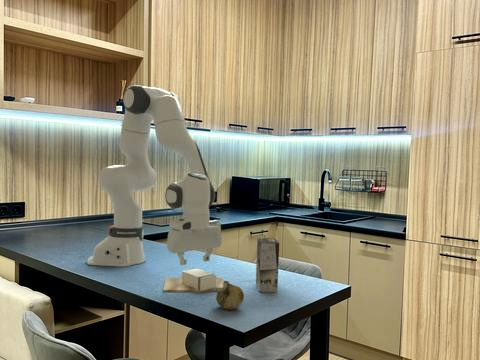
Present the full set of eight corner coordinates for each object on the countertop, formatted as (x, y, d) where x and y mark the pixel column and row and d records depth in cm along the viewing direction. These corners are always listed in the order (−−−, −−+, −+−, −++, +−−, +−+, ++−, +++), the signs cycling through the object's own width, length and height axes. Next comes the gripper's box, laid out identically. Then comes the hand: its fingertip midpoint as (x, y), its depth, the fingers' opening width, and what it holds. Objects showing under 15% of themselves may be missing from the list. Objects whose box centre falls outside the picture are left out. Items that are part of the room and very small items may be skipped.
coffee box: (278, 292, 139) (279, 243, 139) (258, 292, 139) (260, 242, 138) (273, 283, 149) (275, 237, 148) (255, 283, 148) (256, 237, 147)
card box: (182, 270, 144) (201, 278, 136) (196, 268, 148) (216, 275, 140) (181, 282, 144) (201, 290, 136) (196, 279, 148) (216, 287, 140)
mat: (162, 291, 136) (162, 289, 136) (165, 279, 150) (165, 277, 150) (225, 291, 138) (225, 289, 138) (222, 279, 152) (222, 277, 152)
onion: (241, 313, 119) (241, 285, 118) (212, 311, 120) (213, 283, 120) (245, 304, 126) (246, 278, 126) (218, 302, 128) (219, 276, 127)
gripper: (214, 218, 152) (213, 257, 153) (165, 222, 139) (164, 265, 139) (226, 220, 147) (224, 260, 148) (175, 225, 134) (174, 269, 135)
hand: (195, 262), depth 144 cm, fingers open, 8 cm apart
